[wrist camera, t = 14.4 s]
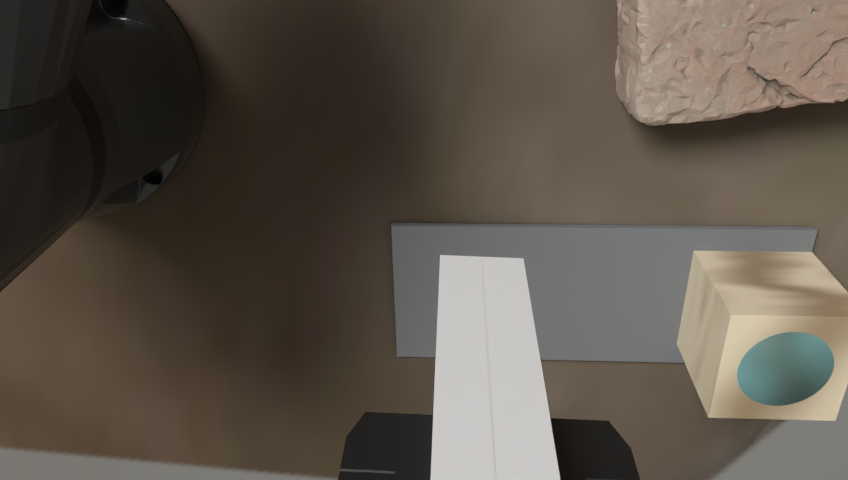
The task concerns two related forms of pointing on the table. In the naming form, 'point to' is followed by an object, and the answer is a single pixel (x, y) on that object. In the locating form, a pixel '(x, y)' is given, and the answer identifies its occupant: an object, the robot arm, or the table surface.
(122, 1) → the robot arm
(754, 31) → the brick
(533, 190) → the table surface
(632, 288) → the rubber mat
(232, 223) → the table surface
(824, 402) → the beech block
